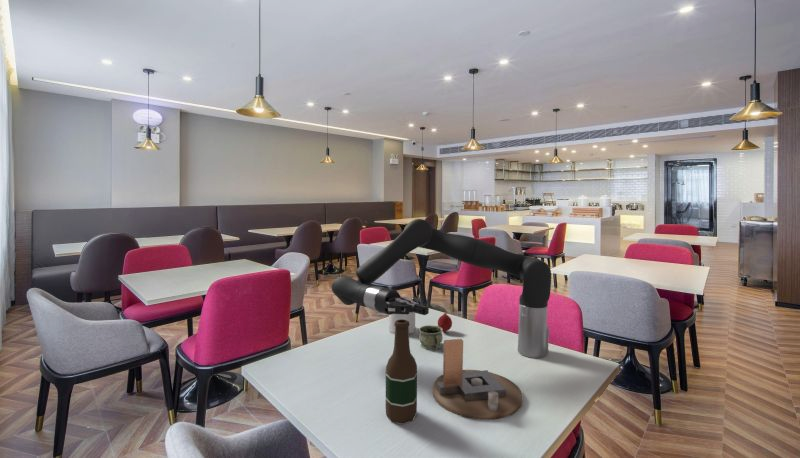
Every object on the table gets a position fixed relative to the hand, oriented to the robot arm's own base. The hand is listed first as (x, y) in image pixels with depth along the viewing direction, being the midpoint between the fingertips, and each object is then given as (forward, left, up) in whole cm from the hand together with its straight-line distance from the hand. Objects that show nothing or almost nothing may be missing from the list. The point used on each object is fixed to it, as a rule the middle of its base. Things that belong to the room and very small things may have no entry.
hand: (426, 311), depth 107 cm
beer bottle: (+11, +11, -22) cm, 27 cm away
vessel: (-14, -28, -22) cm, 38 cm away
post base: (-12, +8, -22) cm, 26 cm away
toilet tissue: (-9, -47, -22) cm, 53 cm away
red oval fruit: (-25, -39, -22) cm, 51 cm away
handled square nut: (-9, +8, -20) cm, 24 cm away
